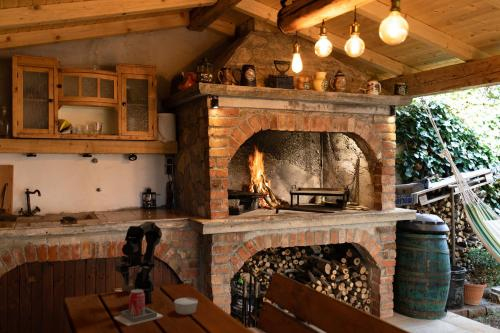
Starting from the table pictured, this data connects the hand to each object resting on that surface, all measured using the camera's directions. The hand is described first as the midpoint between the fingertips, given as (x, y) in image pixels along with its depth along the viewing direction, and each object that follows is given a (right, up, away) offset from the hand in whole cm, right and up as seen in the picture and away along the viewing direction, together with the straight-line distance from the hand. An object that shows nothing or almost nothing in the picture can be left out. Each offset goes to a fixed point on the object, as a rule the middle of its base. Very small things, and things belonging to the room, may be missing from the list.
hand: (135, 283), depth 222 cm
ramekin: (+24, -14, 0) cm, 28 cm away
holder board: (+4, -13, -10) cm, 17 cm away
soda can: (+3, -13, -11) cm, 17 cm away
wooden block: (-10, -13, +32) cm, 36 cm away
